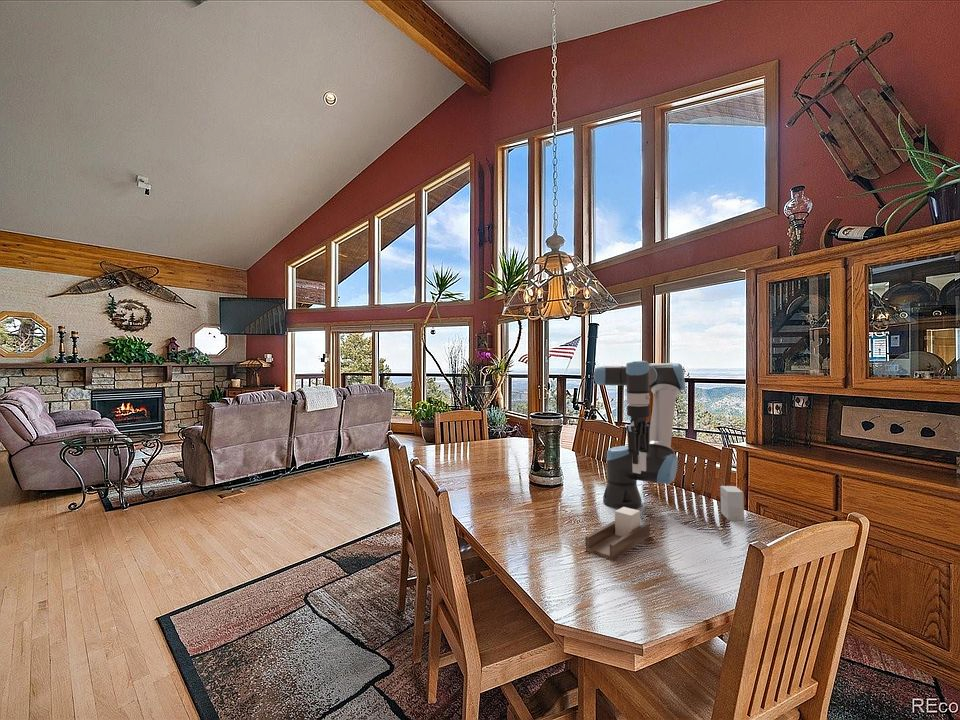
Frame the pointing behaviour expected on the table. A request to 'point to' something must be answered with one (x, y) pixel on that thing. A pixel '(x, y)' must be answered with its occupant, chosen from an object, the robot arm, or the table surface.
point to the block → (626, 520)
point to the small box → (732, 502)
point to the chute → (615, 540)
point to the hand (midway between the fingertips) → (639, 471)
